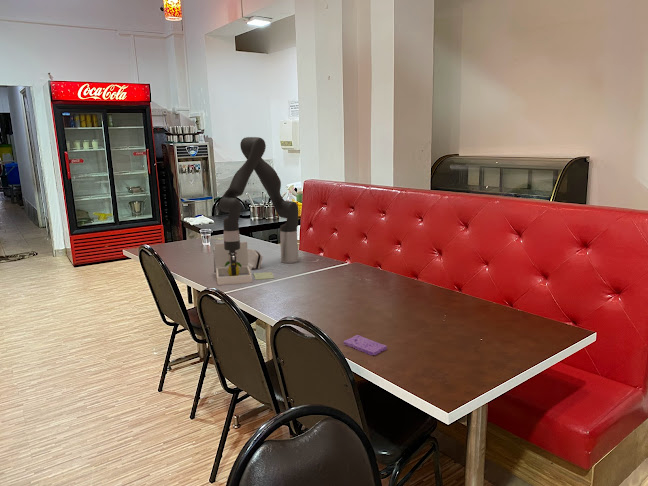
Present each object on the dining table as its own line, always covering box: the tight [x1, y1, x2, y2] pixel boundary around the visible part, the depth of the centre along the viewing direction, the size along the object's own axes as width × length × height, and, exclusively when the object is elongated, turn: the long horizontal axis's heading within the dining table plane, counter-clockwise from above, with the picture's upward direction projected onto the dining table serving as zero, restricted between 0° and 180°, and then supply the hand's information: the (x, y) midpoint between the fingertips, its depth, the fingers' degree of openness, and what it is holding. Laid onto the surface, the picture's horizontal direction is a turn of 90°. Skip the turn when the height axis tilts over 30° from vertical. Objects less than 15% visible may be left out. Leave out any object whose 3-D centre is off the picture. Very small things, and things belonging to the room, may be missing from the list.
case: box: [212, 241, 253, 286], centre depth 236 cm, size 17×20×16 cm
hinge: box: [247, 248, 263, 271], centre depth 260 cm, size 17×5×10 cm, turn 32°
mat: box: [252, 271, 275, 281], centre depth 240 cm, size 9×11×1 cm
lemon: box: [224, 261, 241, 277], centre depth 236 cm, size 7×6×10 cm
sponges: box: [343, 334, 388, 356], centre depth 156 cm, size 7×13×2 cm, turn 45°
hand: (233, 273), depth 236 cm, fingers closed on lemon, 5 cm apart
